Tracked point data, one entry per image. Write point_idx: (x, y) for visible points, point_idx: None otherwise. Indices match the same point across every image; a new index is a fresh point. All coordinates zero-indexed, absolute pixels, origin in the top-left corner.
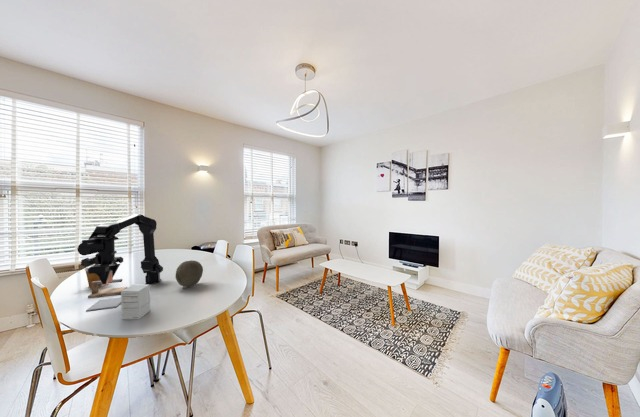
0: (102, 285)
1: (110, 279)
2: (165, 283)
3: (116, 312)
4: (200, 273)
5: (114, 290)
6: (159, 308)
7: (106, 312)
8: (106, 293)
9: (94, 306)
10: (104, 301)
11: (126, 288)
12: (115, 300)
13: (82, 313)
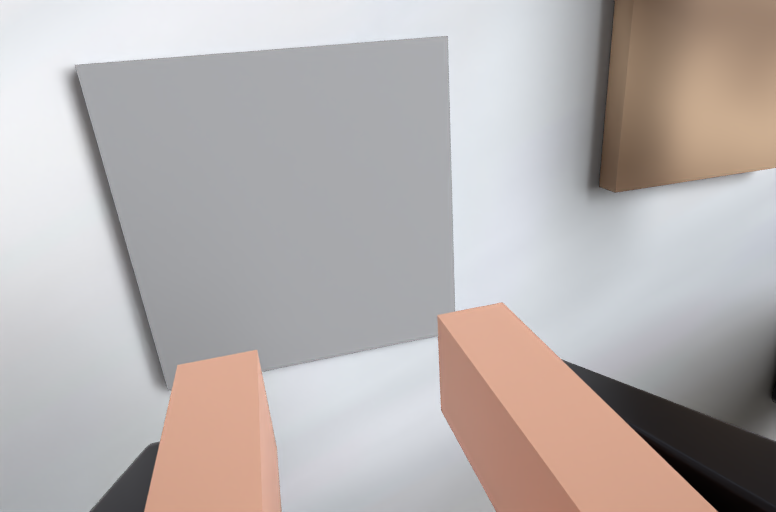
0: (185, 388)
1: (473, 450)
2: None
3: (20, 462)
4: None
5: (723, 64)
6: None
7: (27, 357)
8: (650, 10)
9: (203, 110)
10: (364, 145)
11: None
12: (363, 271)
13: (10, 52)
